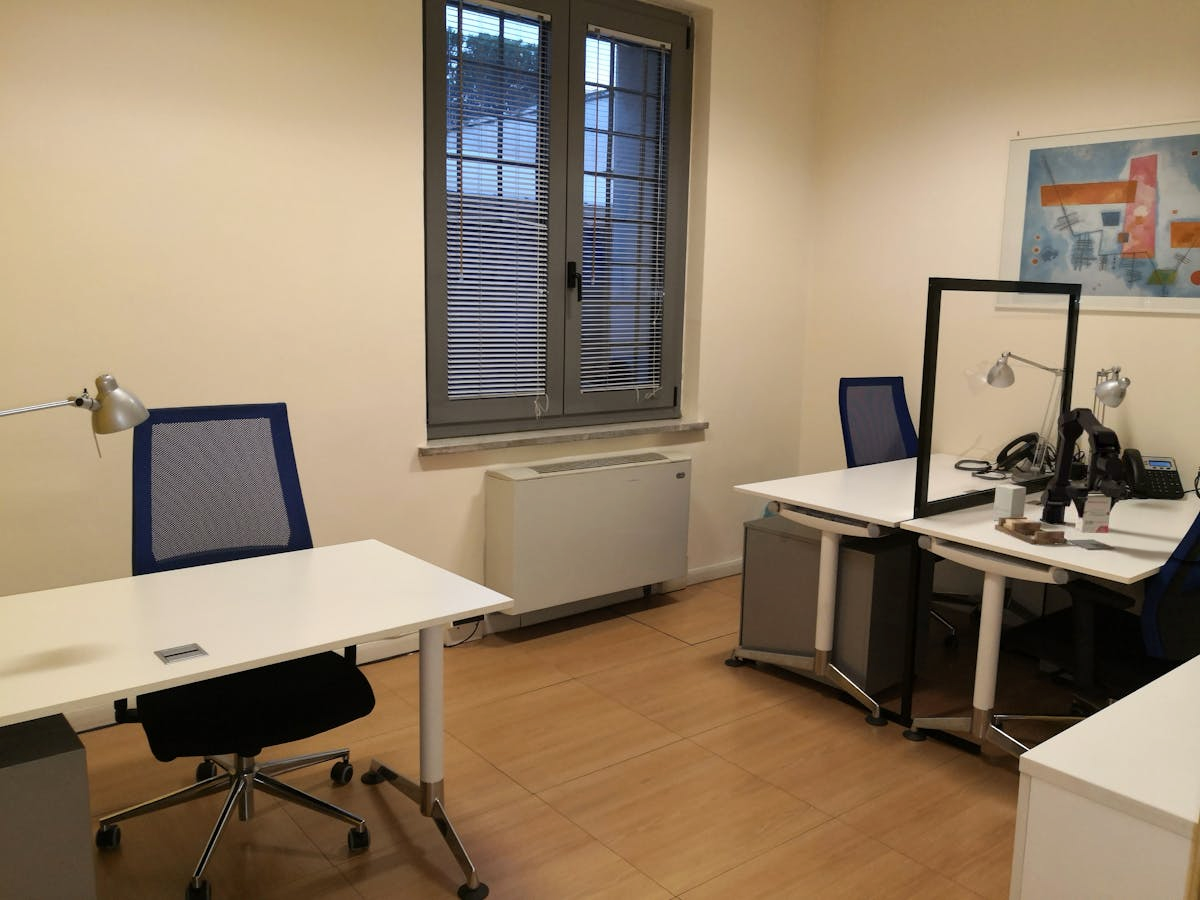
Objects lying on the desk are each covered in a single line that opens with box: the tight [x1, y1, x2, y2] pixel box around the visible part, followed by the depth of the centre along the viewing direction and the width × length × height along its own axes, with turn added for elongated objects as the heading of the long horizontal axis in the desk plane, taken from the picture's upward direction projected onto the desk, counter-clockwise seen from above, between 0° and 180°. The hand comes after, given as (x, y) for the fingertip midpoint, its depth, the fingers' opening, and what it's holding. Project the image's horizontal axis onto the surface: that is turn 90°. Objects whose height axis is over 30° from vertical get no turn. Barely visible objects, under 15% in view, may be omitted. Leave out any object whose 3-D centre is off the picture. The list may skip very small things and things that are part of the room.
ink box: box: [1074, 494, 1111, 534], centre depth 313 cm, size 9×5×12 cm, turn 91°
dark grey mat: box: [1067, 538, 1116, 551], centre depth 314 cm, size 10×10×1 cm
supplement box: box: [992, 483, 1027, 522], centre depth 344 cm, size 7×7×13 cm
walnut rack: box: [994, 516, 1068, 545], centre depth 323 cm, size 12×20×4 cm, turn 12°
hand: (1093, 517), depth 313 cm, fingers closed on ink box, 9 cm apart
